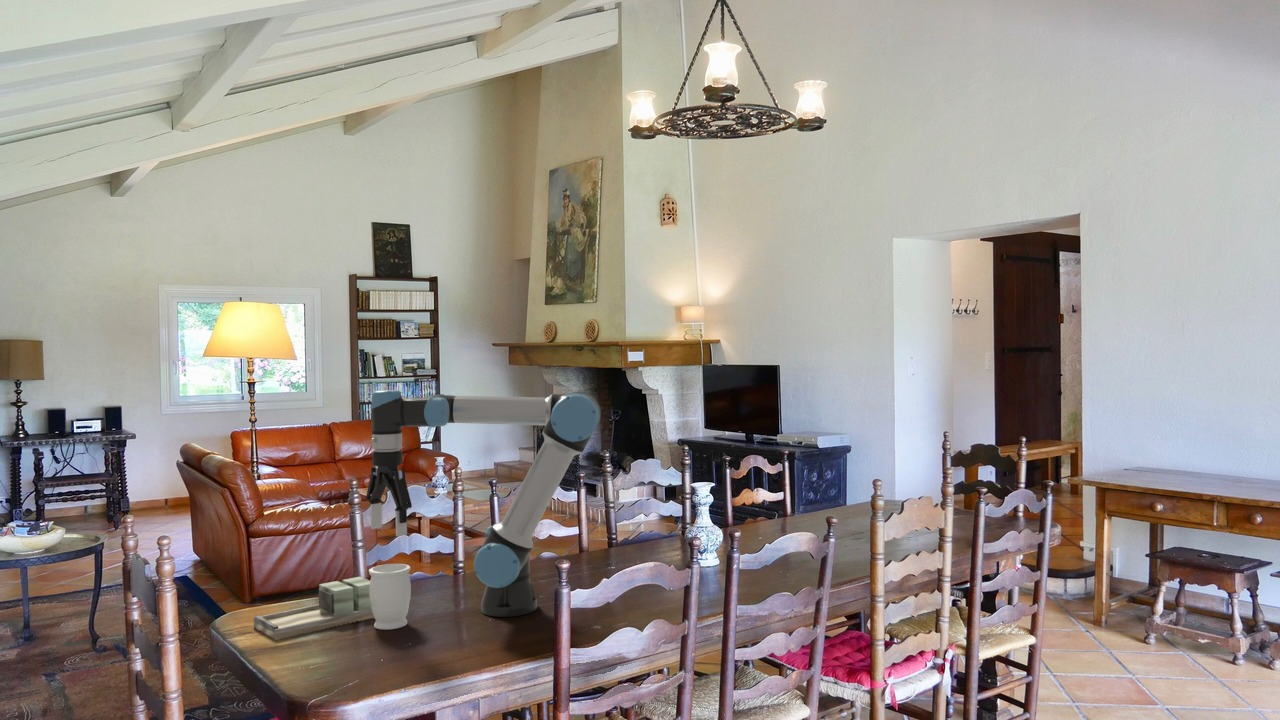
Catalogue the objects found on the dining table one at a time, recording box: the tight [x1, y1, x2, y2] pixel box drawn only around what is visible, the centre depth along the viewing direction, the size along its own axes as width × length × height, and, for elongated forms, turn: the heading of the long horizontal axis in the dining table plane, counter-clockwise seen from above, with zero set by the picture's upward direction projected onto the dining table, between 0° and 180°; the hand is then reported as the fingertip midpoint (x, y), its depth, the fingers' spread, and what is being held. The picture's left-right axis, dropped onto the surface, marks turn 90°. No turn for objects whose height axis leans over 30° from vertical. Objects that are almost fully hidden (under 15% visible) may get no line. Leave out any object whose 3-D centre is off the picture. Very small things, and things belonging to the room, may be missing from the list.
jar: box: [368, 563, 412, 631], centre depth 236 cm, size 11×10×15 cm
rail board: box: [253, 576, 375, 641], centre depth 241 cm, size 15×28×8 cm, turn 133°
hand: (388, 532), depth 236 cm, fingers open, 13 cm apart
